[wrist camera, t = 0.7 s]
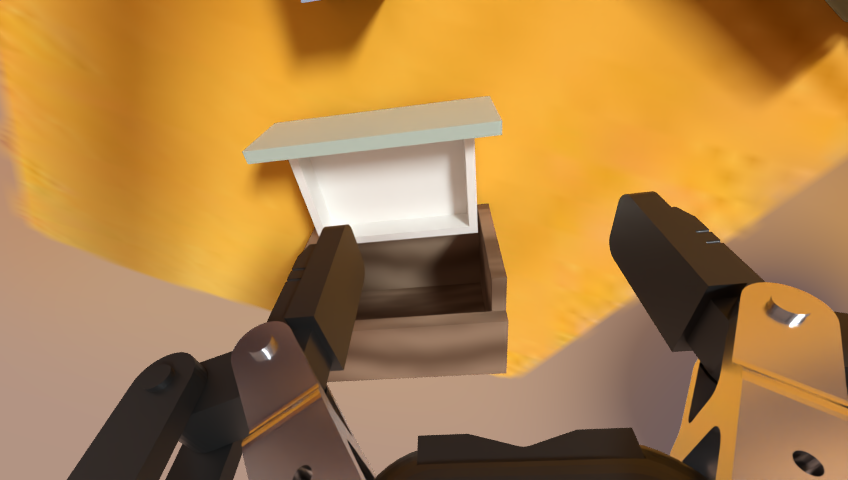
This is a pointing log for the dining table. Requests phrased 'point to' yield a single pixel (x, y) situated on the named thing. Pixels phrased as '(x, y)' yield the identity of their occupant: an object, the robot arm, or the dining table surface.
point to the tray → (387, 167)
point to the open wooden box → (430, 307)
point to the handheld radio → (840, 8)
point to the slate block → (307, 1)
